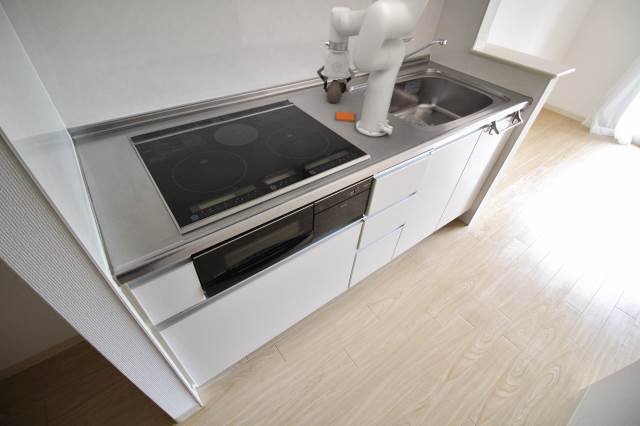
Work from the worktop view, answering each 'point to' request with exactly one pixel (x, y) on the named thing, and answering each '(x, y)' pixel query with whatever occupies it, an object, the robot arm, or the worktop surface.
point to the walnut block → (341, 82)
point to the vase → (334, 91)
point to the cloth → (345, 116)
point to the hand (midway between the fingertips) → (334, 91)
